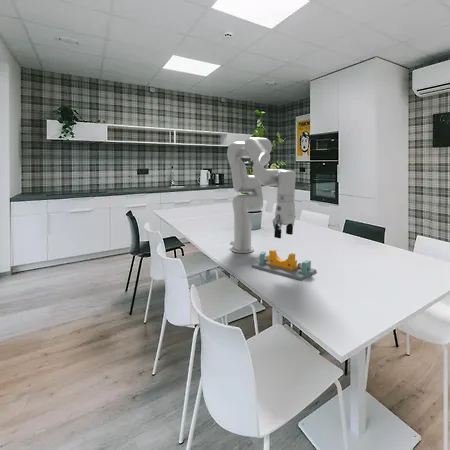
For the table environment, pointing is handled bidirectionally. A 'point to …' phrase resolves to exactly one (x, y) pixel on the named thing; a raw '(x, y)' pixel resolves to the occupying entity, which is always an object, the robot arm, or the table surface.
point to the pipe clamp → (286, 263)
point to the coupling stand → (285, 269)
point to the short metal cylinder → (265, 258)
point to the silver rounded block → (301, 266)
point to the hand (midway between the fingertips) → (283, 235)
